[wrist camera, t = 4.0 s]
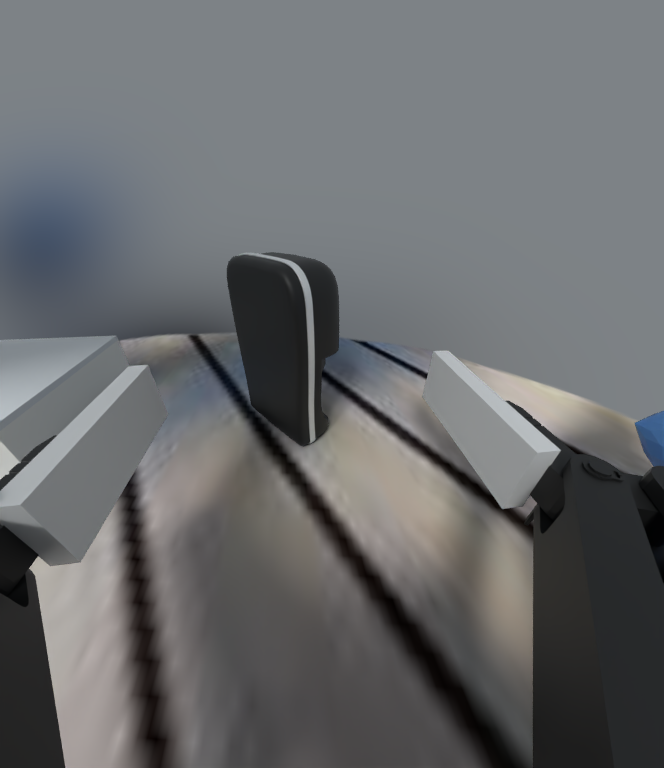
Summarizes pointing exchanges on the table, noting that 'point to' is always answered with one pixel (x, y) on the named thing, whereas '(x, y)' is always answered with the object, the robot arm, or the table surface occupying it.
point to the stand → (50, 387)
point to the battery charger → (285, 336)
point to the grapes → (652, 437)
